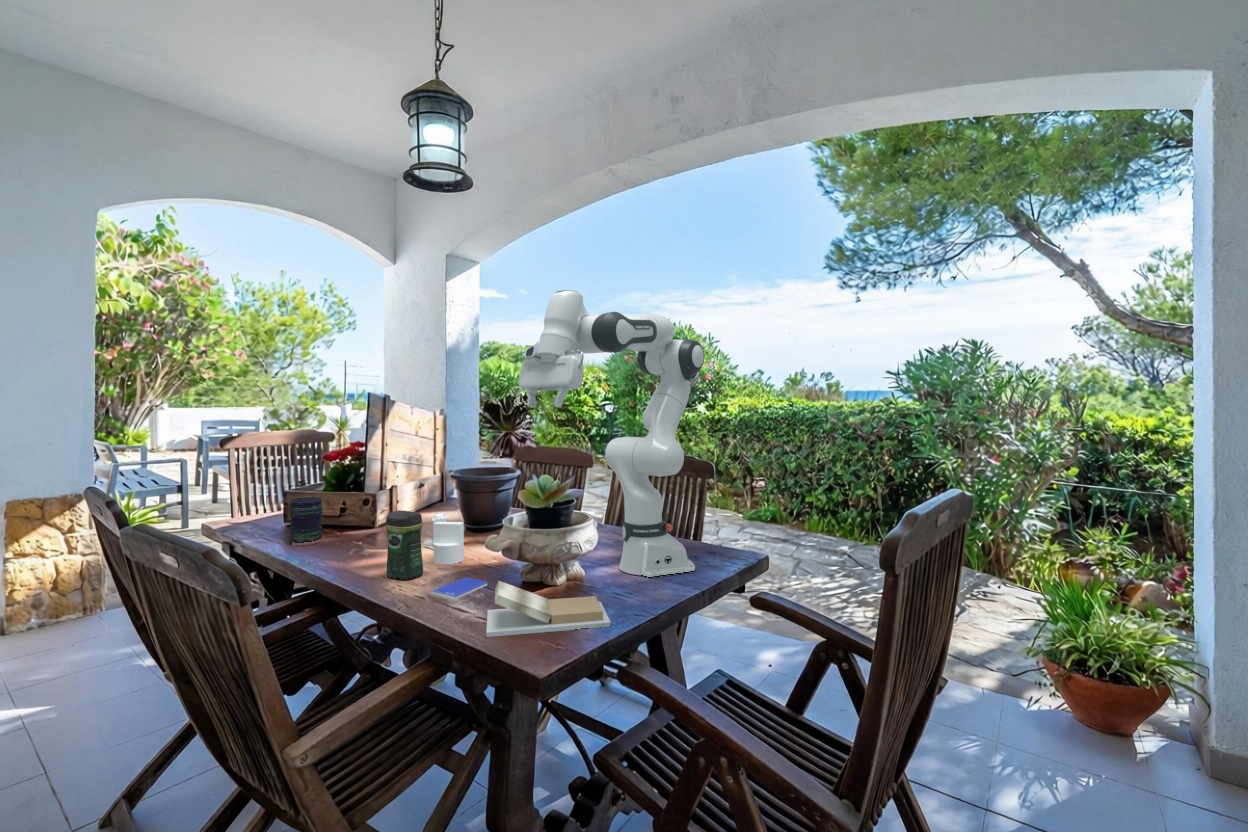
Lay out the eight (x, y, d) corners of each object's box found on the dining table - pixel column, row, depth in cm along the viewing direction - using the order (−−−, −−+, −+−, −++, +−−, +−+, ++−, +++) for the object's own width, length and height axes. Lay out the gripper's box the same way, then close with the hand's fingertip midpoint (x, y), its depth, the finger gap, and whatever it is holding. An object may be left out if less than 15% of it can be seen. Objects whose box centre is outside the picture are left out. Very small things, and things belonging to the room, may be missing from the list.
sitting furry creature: (450, 542, 200) (450, 508, 199) (458, 548, 193) (458, 512, 192) (422, 546, 194) (422, 511, 194) (430, 552, 187) (429, 516, 187)
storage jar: (307, 537, 206) (306, 496, 205) (329, 540, 203) (328, 498, 202) (283, 544, 196) (282, 501, 196) (305, 547, 193) (304, 503, 193)
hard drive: (454, 595, 145) (487, 581, 156) (430, 590, 149) (464, 576, 160) (454, 601, 145) (487, 587, 156) (430, 596, 149) (464, 582, 160)
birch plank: (544, 606, 137) (548, 598, 137) (548, 623, 127) (551, 614, 127) (495, 588, 134) (498, 580, 134) (494, 603, 124) (498, 595, 124)
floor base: (600, 605, 141) (600, 593, 141) (610, 626, 129) (610, 613, 128) (487, 614, 136) (487, 601, 135) (486, 637, 123) (486, 623, 123)
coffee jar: (428, 574, 165) (427, 510, 164) (407, 582, 158) (406, 515, 157) (403, 569, 169) (402, 507, 169) (381, 577, 162) (380, 512, 161)
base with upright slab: (468, 557, 182) (468, 520, 181) (457, 566, 173) (457, 526, 172) (440, 556, 183) (440, 519, 182) (428, 565, 174) (428, 525, 173)
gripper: (594, 353, 136) (582, 410, 133) (539, 359, 150) (528, 410, 147) (574, 344, 131) (562, 402, 129) (520, 351, 145) (508, 403, 143)
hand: (543, 407), depth 138 cm, fingers open, 8 cm apart
